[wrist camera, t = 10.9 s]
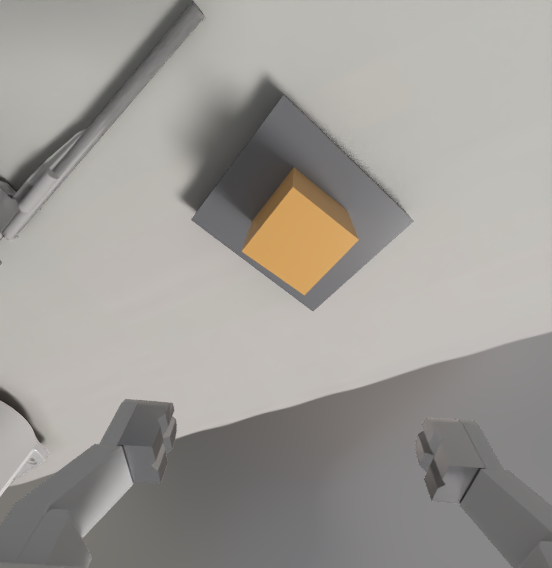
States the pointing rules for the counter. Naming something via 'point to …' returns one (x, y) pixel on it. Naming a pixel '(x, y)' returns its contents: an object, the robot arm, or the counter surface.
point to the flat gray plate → (317, 168)
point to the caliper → (87, 134)
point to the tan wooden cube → (300, 233)
